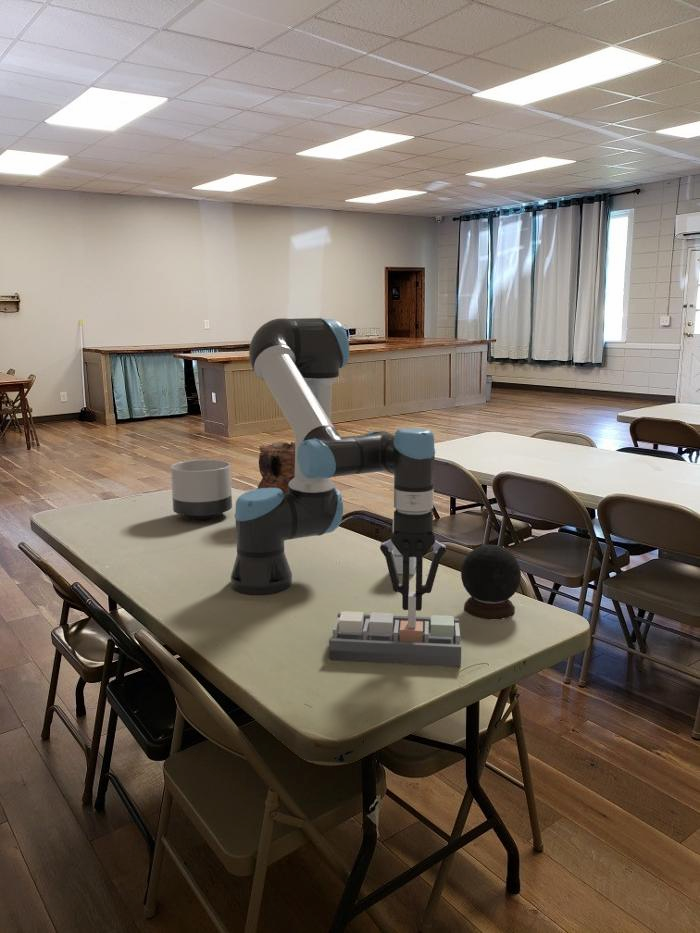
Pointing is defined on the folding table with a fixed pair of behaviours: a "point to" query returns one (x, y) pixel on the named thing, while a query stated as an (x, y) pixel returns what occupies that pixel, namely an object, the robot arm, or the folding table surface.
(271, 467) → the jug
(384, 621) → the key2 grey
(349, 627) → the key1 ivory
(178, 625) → the folding table surface
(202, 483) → the planter
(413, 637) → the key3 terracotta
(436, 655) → the keypad board
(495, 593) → the black ball on stand
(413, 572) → the syrup box
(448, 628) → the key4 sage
